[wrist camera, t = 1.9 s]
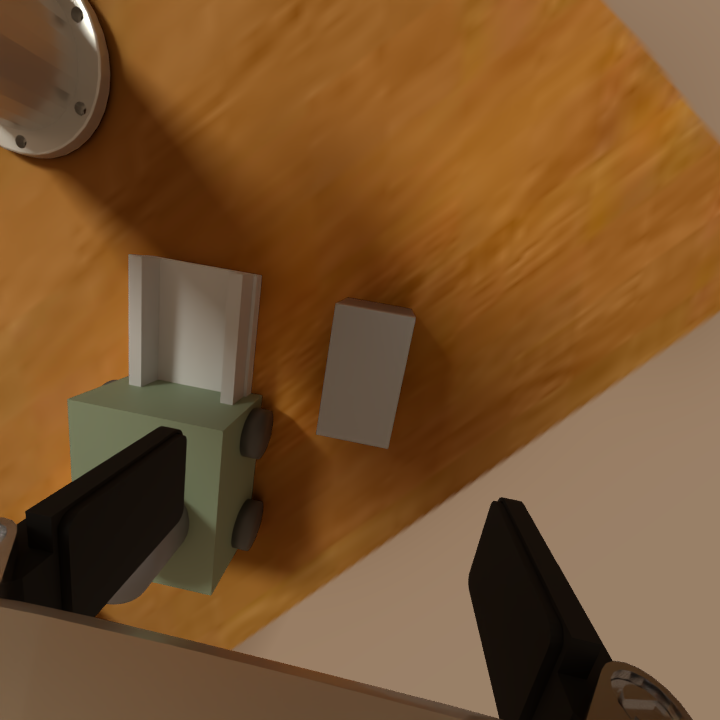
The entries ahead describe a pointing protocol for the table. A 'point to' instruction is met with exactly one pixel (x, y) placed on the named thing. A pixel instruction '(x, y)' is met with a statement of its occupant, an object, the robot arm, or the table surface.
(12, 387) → the table surface
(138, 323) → the green toy tractor
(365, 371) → the gray rectangular block
